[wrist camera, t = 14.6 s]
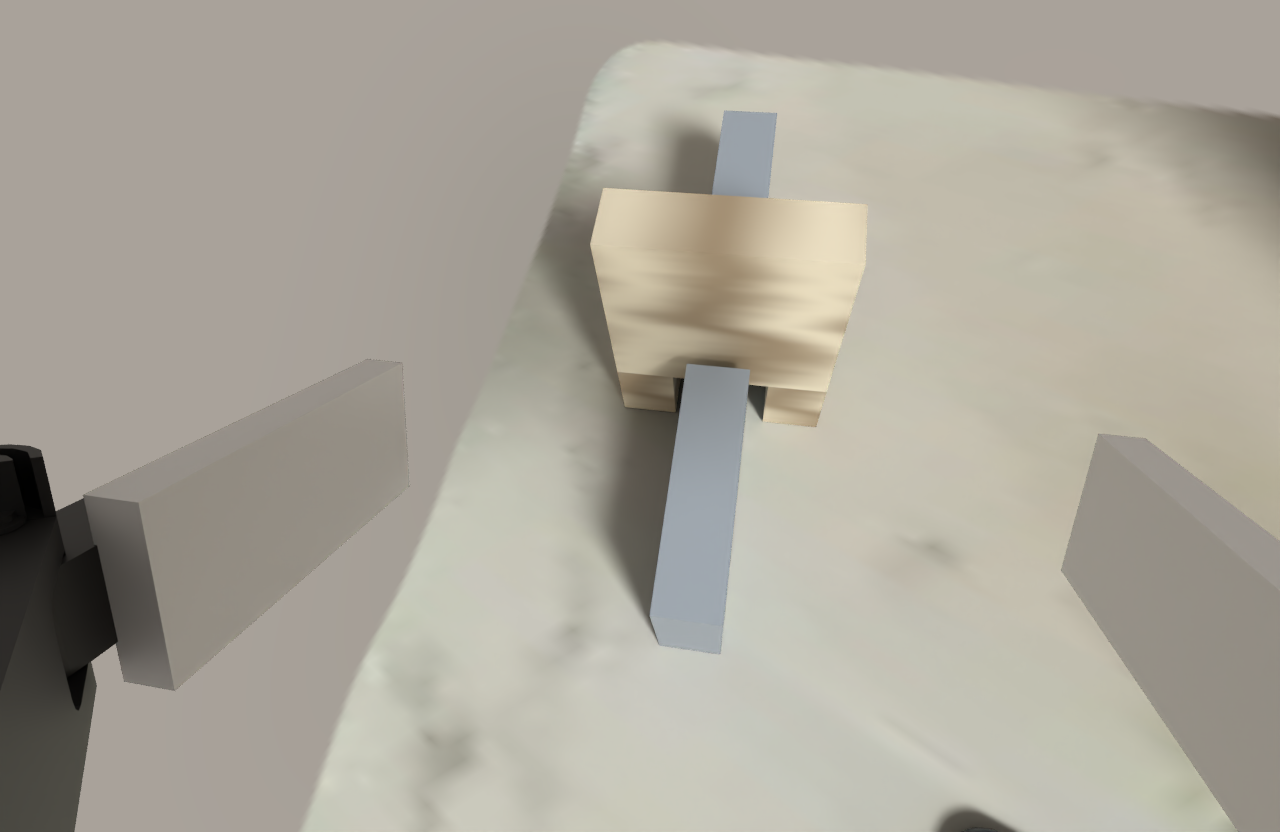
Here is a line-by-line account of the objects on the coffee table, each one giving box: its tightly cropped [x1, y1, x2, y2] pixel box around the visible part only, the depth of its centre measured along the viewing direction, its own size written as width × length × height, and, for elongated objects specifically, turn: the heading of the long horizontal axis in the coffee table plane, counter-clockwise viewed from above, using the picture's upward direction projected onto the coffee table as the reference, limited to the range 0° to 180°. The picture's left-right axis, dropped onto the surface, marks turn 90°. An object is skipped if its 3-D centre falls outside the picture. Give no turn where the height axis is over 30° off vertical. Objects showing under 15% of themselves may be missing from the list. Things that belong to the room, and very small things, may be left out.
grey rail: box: [650, 111, 777, 654], centre depth 33 cm, size 2×24×6 cm, turn 171°
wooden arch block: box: [590, 188, 867, 427], centre depth 30 cm, size 9×2×12 cm, turn 81°
